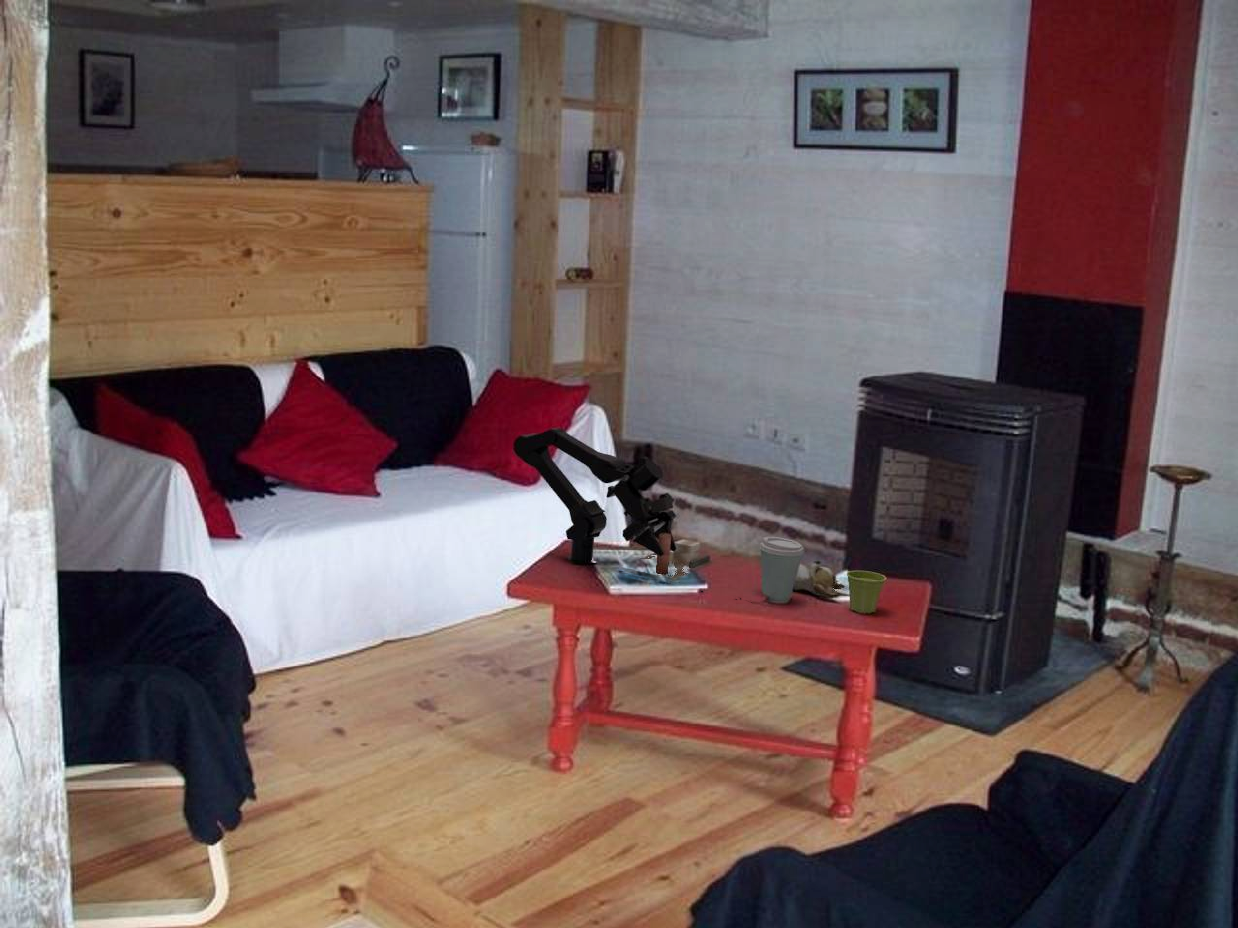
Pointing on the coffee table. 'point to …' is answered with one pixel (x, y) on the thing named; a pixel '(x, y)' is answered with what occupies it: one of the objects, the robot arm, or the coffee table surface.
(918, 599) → the coffee table surface
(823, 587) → the ceramic sculpture
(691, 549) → the pale ash cube
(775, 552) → the disposable coffee cup
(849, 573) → the plant pot
